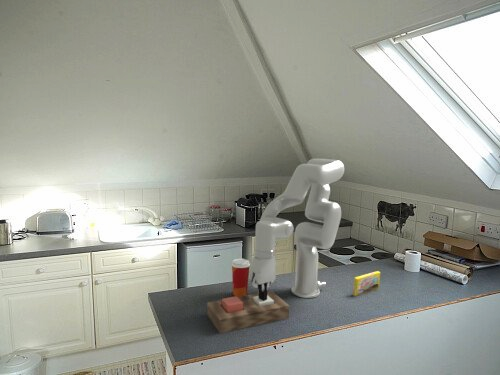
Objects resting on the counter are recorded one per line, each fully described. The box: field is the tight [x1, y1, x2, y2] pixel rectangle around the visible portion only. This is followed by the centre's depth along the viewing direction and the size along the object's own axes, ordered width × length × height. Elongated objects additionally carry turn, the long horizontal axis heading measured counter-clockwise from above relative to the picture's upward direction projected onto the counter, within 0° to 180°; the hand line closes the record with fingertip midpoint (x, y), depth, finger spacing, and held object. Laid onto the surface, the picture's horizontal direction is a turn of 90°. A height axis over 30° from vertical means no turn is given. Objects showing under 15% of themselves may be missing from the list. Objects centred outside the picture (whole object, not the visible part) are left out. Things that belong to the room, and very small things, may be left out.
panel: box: [206, 290, 290, 334], centre depth 139 cm, size 28×14×5 cm, turn 115°
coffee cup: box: [230, 258, 251, 297], centre depth 157 cm, size 8×8×15 cm
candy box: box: [352, 270, 382, 297], centre depth 163 cm, size 16×2×8 cm, turn 124°
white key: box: [253, 295, 274, 307], centre depth 141 cm, size 6×6×3 cm
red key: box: [221, 296, 243, 313], centre depth 135 cm, size 6×6×3 cm
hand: (262, 298), depth 141 cm, fingers closed
